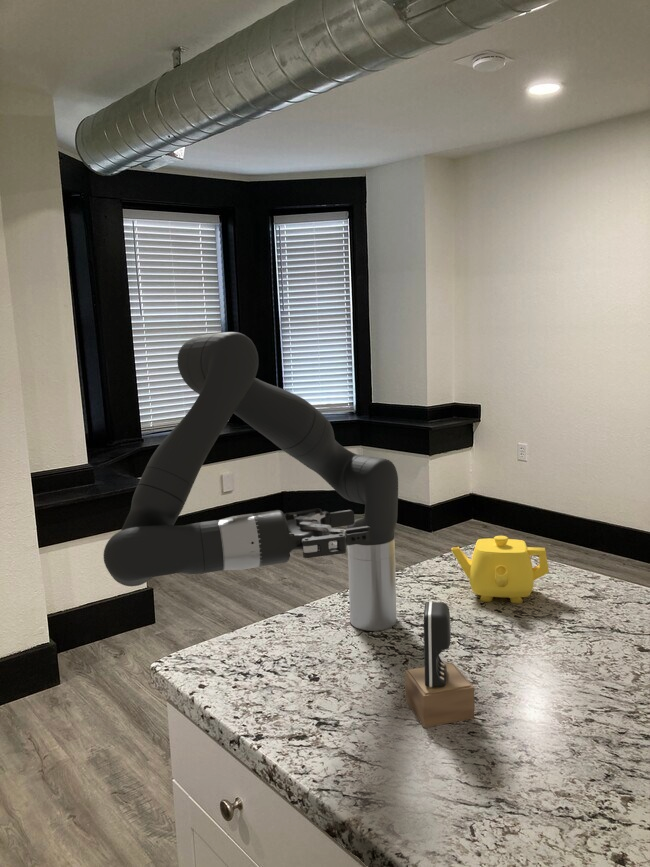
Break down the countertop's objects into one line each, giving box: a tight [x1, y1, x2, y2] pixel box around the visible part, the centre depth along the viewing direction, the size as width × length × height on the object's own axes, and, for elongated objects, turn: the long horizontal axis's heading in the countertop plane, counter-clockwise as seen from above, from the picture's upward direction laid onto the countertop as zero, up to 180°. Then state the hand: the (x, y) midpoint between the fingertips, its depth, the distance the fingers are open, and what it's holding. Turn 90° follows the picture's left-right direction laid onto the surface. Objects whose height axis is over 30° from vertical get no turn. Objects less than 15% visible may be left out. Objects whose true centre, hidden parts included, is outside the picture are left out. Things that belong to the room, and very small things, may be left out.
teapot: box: [451, 535, 550, 604], centre depth 148 cm, size 20×19×13 cm
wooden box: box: [404, 662, 475, 728], centre depth 108 cm, size 8×8×5 cm
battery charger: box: [423, 600, 452, 687], centre depth 106 cm, size 7×4×11 cm, turn 170°
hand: (362, 524), depth 103 cm, fingers open, 8 cm apart
